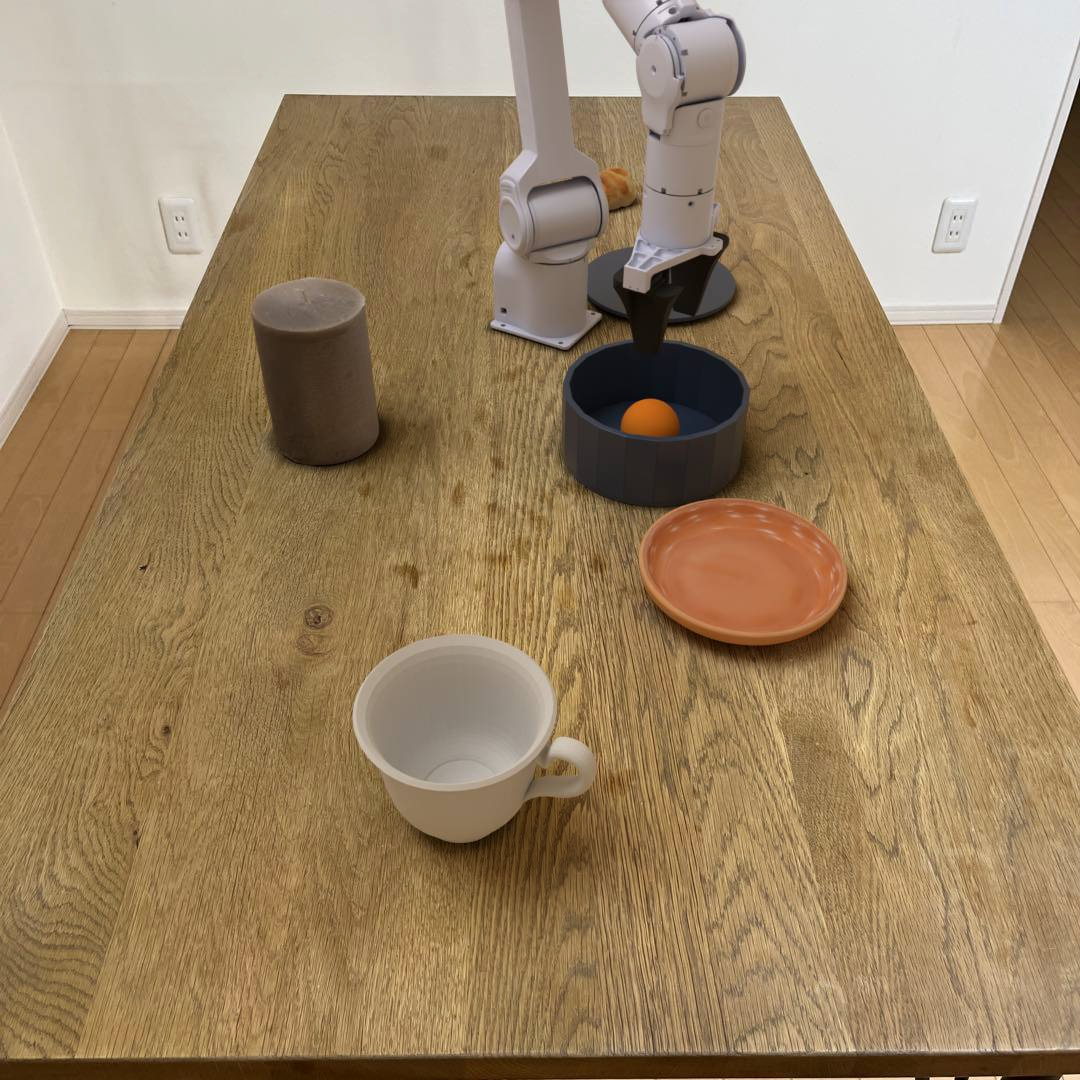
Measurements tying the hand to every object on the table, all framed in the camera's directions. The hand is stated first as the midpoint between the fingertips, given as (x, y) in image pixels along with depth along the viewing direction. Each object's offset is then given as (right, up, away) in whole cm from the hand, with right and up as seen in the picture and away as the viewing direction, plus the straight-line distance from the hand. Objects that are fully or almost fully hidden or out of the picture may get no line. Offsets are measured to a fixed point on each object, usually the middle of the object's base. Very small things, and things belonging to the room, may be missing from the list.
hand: (666, 331), depth 97 cm
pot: (-1, -10, +4) cm, 11 cm away
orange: (-1, -8, +1) cm, 9 cm away
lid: (+2, +10, +27) cm, 29 cm away
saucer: (+5, -22, -10) cm, 25 cm away
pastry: (-3, +25, +44) cm, 51 cm away
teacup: (-15, -36, -26) cm, 47 cm away
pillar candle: (-31, -9, +6) cm, 33 cm away
